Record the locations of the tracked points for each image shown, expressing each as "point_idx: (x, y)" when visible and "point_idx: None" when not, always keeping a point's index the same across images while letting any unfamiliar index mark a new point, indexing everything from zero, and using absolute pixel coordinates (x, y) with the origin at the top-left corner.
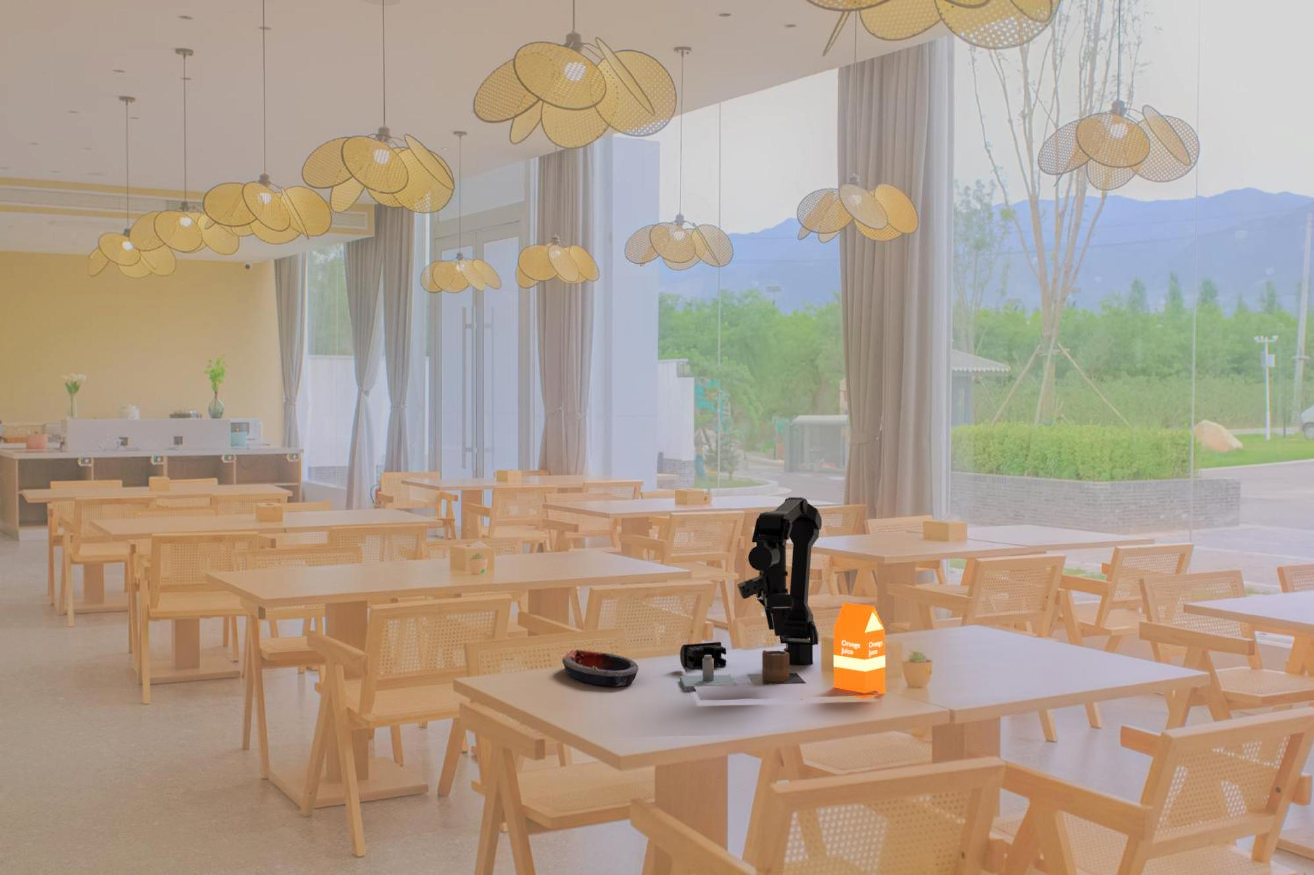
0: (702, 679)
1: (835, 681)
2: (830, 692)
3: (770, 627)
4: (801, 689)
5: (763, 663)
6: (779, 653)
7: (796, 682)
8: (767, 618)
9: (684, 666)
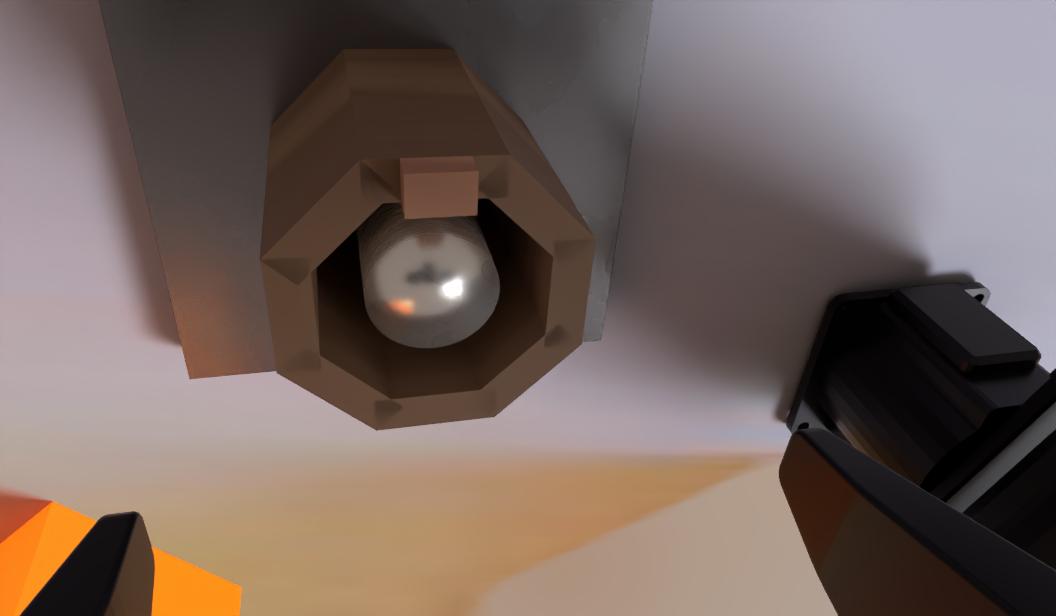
0: None
1: (22, 578)
2: (58, 483)
3: (808, 463)
4: (157, 317)
5: (399, 108)
6: (526, 334)
7: (222, 314)
8: (933, 554)
9: None
